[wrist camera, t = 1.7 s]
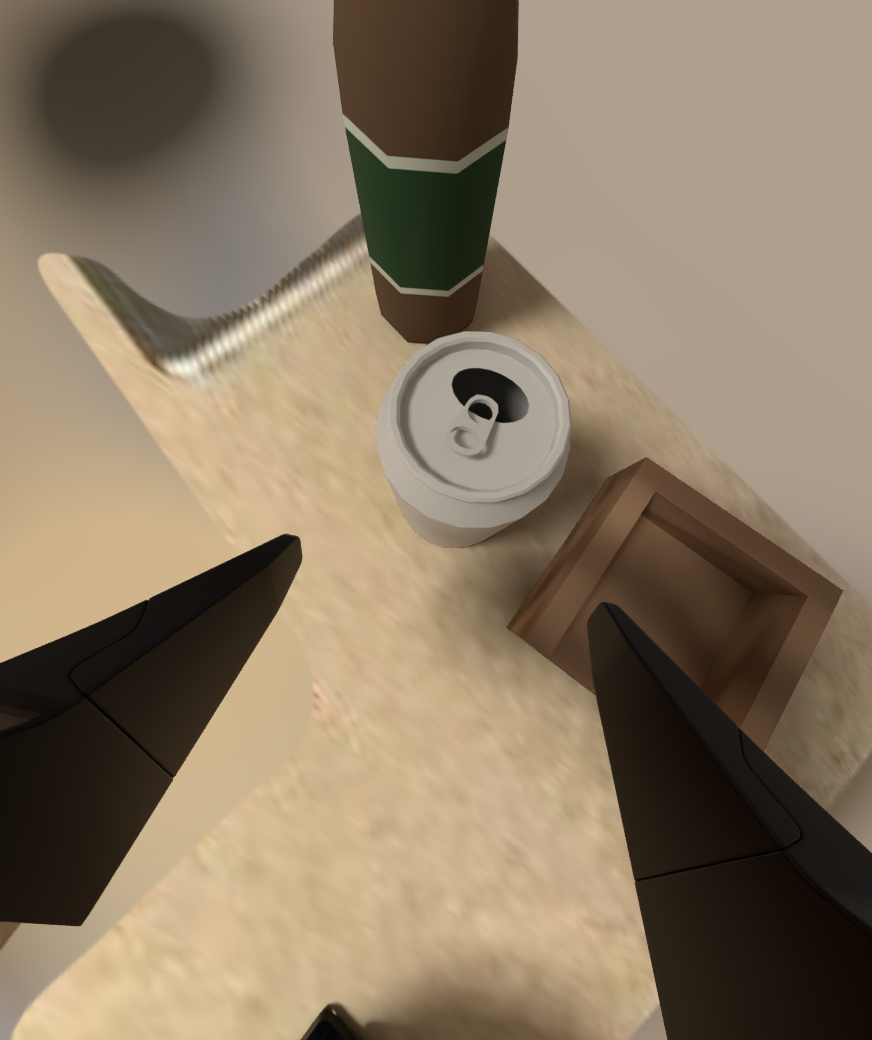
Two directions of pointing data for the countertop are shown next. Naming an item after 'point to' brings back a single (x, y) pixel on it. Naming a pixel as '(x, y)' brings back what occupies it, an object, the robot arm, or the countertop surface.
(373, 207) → the beer bottle
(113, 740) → the robot arm
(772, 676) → the brown wooden square tray
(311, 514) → the countertop surface
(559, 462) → the can
